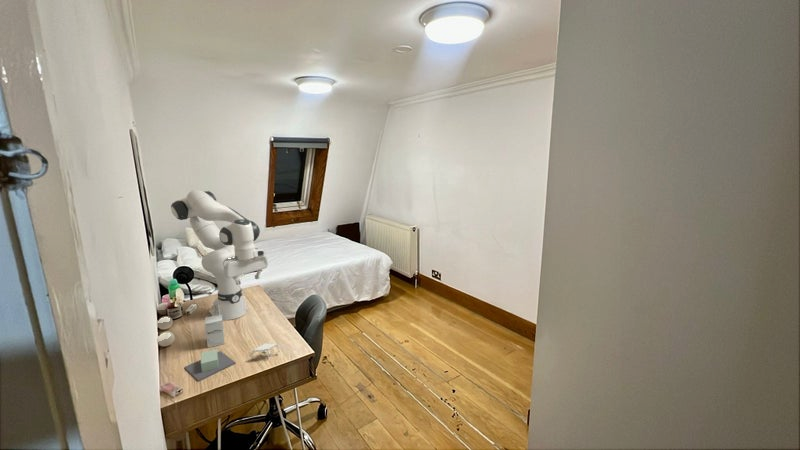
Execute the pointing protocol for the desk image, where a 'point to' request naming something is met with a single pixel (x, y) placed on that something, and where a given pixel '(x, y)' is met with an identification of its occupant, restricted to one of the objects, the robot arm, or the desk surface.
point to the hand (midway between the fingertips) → (248, 281)
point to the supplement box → (214, 330)
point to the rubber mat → (199, 375)
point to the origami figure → (265, 349)
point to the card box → (209, 360)
